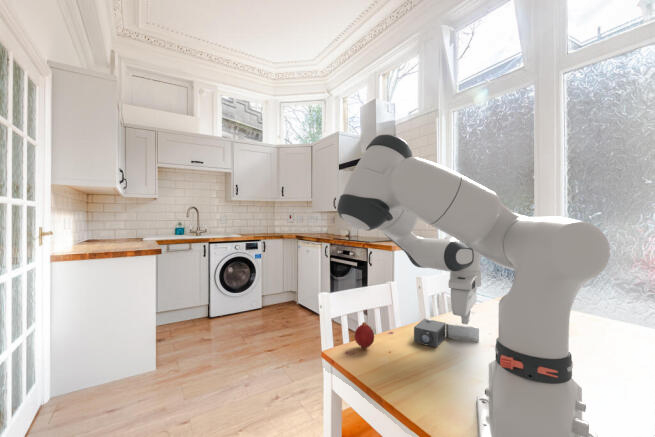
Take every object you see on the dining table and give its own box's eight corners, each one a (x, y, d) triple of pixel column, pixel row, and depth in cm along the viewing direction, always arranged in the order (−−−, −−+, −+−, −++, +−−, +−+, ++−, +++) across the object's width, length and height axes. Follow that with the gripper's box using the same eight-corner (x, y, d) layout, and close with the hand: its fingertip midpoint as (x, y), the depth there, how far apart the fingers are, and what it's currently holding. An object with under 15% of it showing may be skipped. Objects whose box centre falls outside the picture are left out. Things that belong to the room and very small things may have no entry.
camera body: (435, 349, 87) (435, 331, 87) (412, 343, 91) (412, 326, 91) (445, 336, 96) (445, 321, 96) (424, 331, 100) (424, 316, 100)
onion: (355, 343, 90) (355, 317, 90) (374, 345, 89) (374, 319, 89) (353, 352, 85) (353, 324, 85) (373, 354, 83) (373, 326, 83)
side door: (478, 340, 93) (478, 327, 93) (479, 341, 92) (479, 328, 92) (445, 336, 97) (445, 323, 97) (446, 337, 95) (446, 324, 96)
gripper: (461, 273, 102) (461, 312, 102) (446, 283, 86) (447, 330, 86) (481, 275, 99) (481, 316, 99) (470, 285, 82) (470, 335, 82)
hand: (465, 323), depth 92 cm, fingers closed
